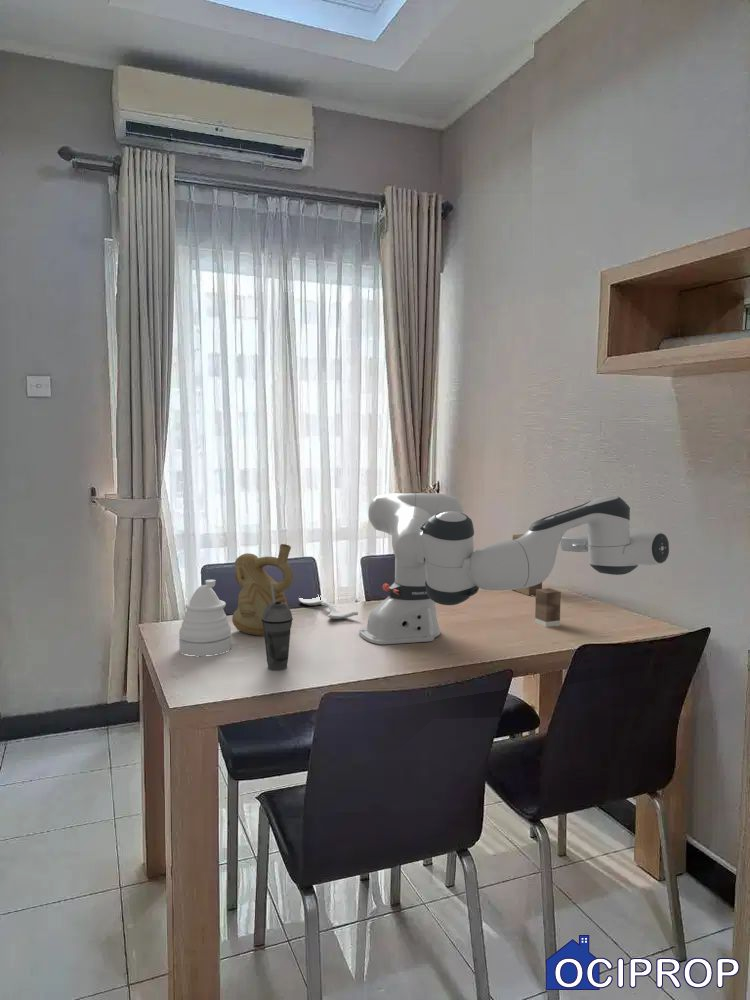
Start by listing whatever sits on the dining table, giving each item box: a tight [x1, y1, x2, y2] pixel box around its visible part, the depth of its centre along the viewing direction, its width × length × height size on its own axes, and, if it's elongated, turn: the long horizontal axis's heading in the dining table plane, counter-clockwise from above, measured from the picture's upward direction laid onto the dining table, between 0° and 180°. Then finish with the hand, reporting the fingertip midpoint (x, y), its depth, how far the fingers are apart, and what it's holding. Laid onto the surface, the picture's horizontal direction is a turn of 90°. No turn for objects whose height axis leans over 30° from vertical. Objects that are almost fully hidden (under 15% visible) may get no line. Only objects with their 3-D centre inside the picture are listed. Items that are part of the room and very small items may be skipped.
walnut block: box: [534, 587, 562, 628], centre depth 200 cm, size 5×5×10 cm
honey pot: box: [178, 579, 232, 656], centre depth 175 cm, size 13×13×18 cm
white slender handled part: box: [298, 594, 359, 620], centre depth 215 cm, size 9×32×4 cm, turn 26°
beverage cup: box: [262, 584, 294, 671], centre depth 161 cm, size 7×7×20 cm
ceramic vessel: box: [231, 543, 294, 636], centre depth 192 cm, size 17×20×25 cm
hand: (578, 540), depth 187 cm, fingers open, 8 cm apart
